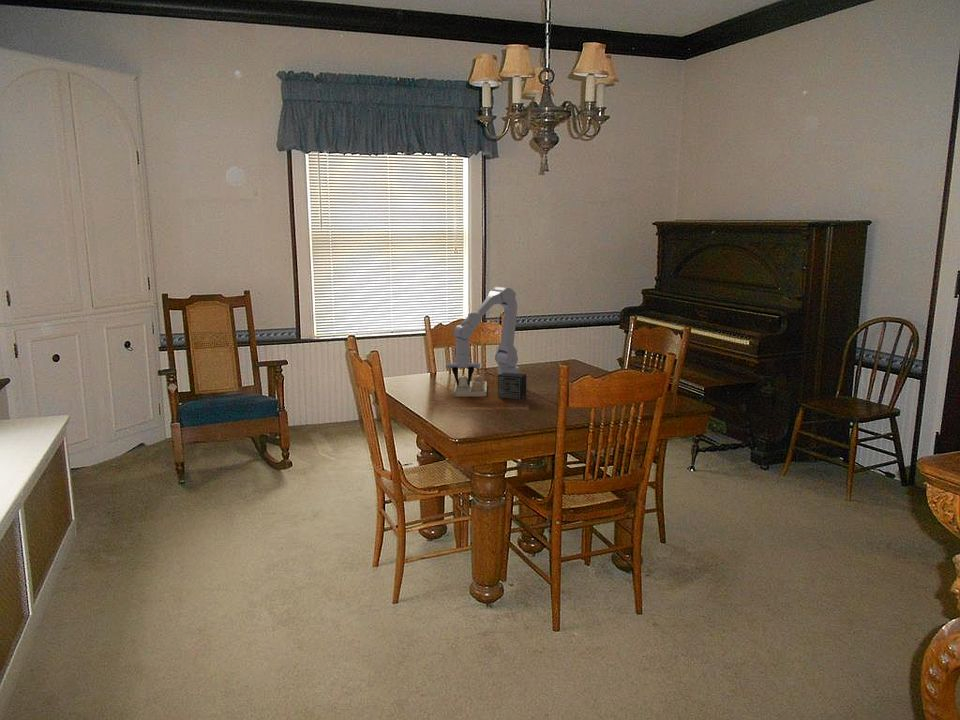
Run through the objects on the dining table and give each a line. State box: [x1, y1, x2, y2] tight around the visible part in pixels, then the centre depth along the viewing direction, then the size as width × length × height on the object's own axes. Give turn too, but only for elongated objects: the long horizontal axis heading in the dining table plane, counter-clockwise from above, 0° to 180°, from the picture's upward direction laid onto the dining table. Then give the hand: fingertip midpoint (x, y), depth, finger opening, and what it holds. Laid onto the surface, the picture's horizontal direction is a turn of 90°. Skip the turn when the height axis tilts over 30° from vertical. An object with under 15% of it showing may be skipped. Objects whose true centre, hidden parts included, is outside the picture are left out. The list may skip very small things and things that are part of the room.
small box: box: [497, 373, 527, 400], centre depth 295 cm, size 11×6×10 cm, turn 65°
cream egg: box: [458, 375, 468, 388], centre depth 306 cm, size 4×4×5 cm
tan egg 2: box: [473, 382, 483, 392], centre depth 300 cm, size 4×4×5 cm
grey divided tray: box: [453, 380, 488, 397], centre depth 306 cm, size 14×20×3 cm
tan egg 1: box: [473, 374, 484, 385], centre depth 312 cm, size 4×4×5 cm
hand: (463, 384), depth 306 cm, fingers closed on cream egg, 4 cm apart
